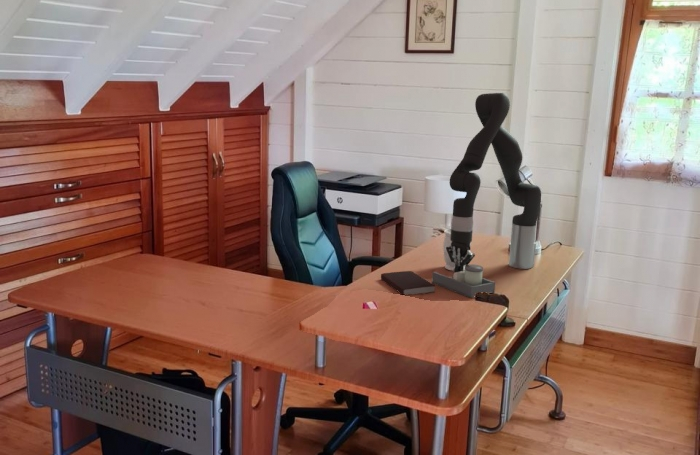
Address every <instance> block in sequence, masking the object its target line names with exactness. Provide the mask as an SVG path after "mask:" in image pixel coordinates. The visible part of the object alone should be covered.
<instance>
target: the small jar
mask: <svg viewBox="0 0 700 455" xmlns="http://www.w3.org/2000/svg"><path fill="white" fill-rule="evenodd" d="M464 271H465V279H464V283H466V284H468V285H471V286H476V285H481V284H482V278H483V272H484V266H482V265H479V264H470V263H469V264H468V265H465V270H464Z"/></svg>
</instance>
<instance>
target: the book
mask: <svg viewBox="0 0 700 455" xmlns="http://www.w3.org/2000/svg"><path fill="white" fill-rule="evenodd" d="M380 280H381V281H383V282H384V283H385V282H386V283H385V284H387V285H388V284H389V285H388V286H390V287H391V286H392V287H393V288H392V287H391V288H392V289H394V288H395V289H396V290H398V291H399V292H400V293H401V294H400V293H399V292H398V291H397V292H398V293H399V294H400V295H402V294H405V295H404V296H409V295H408V294H412V295H413V294H415V295H424V294H423V293H425V294H434V293H436V291H435V287H436V286H435V285H436V284H434V283H432V282H431V281H429V280H427V279H425V278H424V277H421V276H420V275H419V274H417V273H415V272H414V271H413V270H406V271H405V270H404V271H394V272H385V273H381V274H380ZM395 289H394V290H395ZM396 290H395V291H396Z"/></svg>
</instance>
